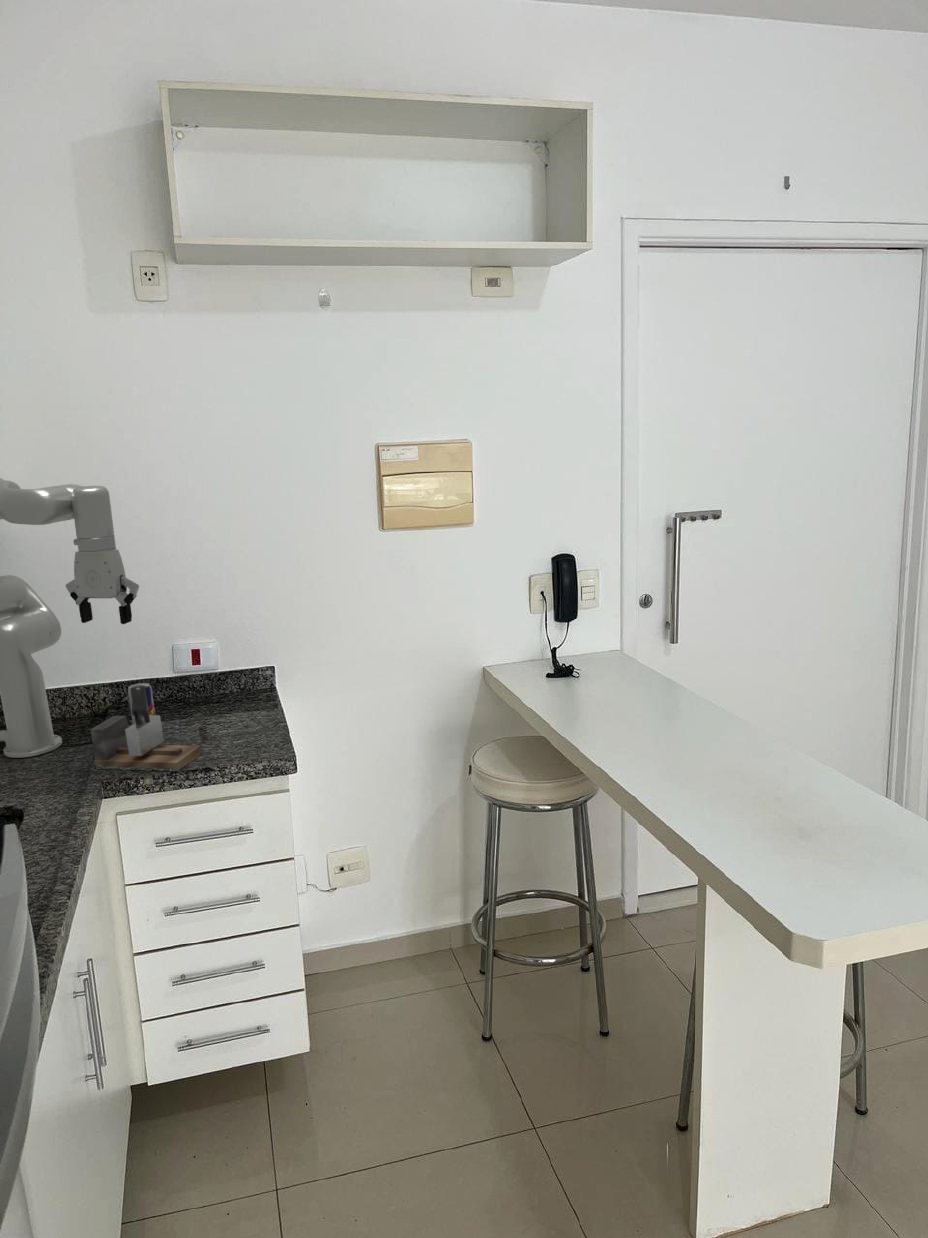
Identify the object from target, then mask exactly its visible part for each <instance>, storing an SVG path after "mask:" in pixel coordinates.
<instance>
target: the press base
mask: <svg viewBox="0 0 928 1238" xmlns="http://www.w3.org/2000/svg"><path fill="white" fill-rule="evenodd" d="M127 719H128V718H127V715H113V716H111V717H110V718H108V719H106V720H105V721H104V720H103V722H100V724H98V725H96V726H94V727H92V728H91V729H90V736H91V741H92V747H93V754H94V759H95V760H94V761H93V762H94V766H95V765H102V766H116V767H118V766H120V767H146V768H156V769H172V770H178V769H180V768H181V767H184V766H185V765H186V766H187V764H188V763H189V764H190V763H192V762H193V761H194V760H196V759H197V758H198V757H199V756H201V755H202V749H201V745H187V744H186V745H185V744H184V745H183V744H182V745H180V744H176V745H175V744H158V745H157V746H156V747H154V748H153V749H151V750H150V751H148V752H147V753H145V754H144V755H142V756H129V750H128V744H127V738H126V732H125V729H127V728H128V727H129V725H128V720H127ZM189 764H188V765H189ZM186 766H185V767H186ZM185 767H184V768H185Z"/></svg>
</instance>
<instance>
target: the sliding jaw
mask: <svg viewBox="0 0 928 1238" xmlns="http://www.w3.org/2000/svg"><path fill="white" fill-rule="evenodd" d="M130 690H131V697H132V703H133V709H134V716H135V722H136V723H135V724H133V723H132V724H131V725H130V726H128V728H127V729H125V732H126V738H127V744H128V750H129V756H142V755H144V754H145V753H147V752H148V751H150V750H151V749H153V748H154V747H156V746H157V745H161V744H162V742H164V740H165V739H164V733H163V732H164V731H163V726H162V719H161V715H158V714H157V715H156V714H155V715H149V711H148V704H147V698H146V691H145V686H144V685H137V686H133V687H131V688H130Z"/></svg>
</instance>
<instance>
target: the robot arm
mask: <svg viewBox="0 0 928 1238" xmlns="http://www.w3.org/2000/svg"><path fill="white" fill-rule="evenodd" d="M1 520H3V521H5V522H7V523H10V524H14V525H15V524H16V525H31V526H44V525H51V524H55V523H59V522H65V521H71V520H74V527H75V528H74V529H75V534H76V538H75V539H74V540H73V545H74V546H77V550H78V551H75V552H74V560H73V561H74V562H73V574H74V575H73V576H74V577H73V578H74V579H72V580H70V581H69V582H68V583H66V584H65V588H66V590H67V592H68V593H69V596H70V597H71V598H72V599H73V600H74V602H75V605H77V606H78V608H79V616H80V623H82V624H86V623H88V622H90V621H92V620H93V617H94V616H93V609H92V604H91V602H90V601H89V600H90V599H115V600H116V601H117V602H118V603H119V607H118V613H119V621H120V624H121V625H126V624H128V623H131V622H132V621H133V620H132V619H133V618H132V617H133V616H132V605H131V604H133V603H134V600H135V599H136V598H137V597H138V596H137V595H138V591H139V589H140V585H139V584H138V583H136V582H135V581H133V580H130V579H129V578H127V577H126V572H125V568H124V563H123V558H122V556H121V554H120V551H119V549H117V546H116V545H117V544H116V539H115V538H116V537H115V531H114V521H113V514H112V505H111V498H110V492H109V490H108V488H107V487H105V486H102V485H86V486H84V485H78V484H73V483H72V484H70V483H69V484H61V485H53V486H47V487H41V488H29V489H28V488H21V486H20V485H18V483H16V482H14V481H11V480H5V479H4V478H2V477H0V521H1ZM127 590H129V592H128V591H127ZM127 592H128V593H127ZM60 623H61V622H60V621H59V619H58V617H57V615H56V614H55V613H54V612H53V611H52V609H51V608H50V607H49V606H48V605H47V603H46V602H45V601H44V600H43V599H42V598H41V597H40V596H39V594H38V593H37V592H36V591H35V590H34V589H33V588H32V586H30V585H29V583H27V581H25V579H22V578H20V577H18V576H15V575H11V574H10V575H9V574H6V575H1V576H0V700H1V705H2V711H3V716H4V720H5V725H6V726H5V727H6V730H0V742H5V746H4V748H3V755H4V756H5V757H7V758H12V759H13V758H14V759H16V758H17V759H20V758H29V757H35V756H41V755H44V754H46V753H49V752H52V751H54V750H56V749H58V748H59V747H60V746H61V745H62V744H63V739H62V737H61V736H59V735H57V734H55V733H54V730H53V723H52V718H51V717H52V716H51V712H50V707H49V701H48V697H47V696H48V695H47V691H46V685H45V684H46V683H45V680H44V674H43V672H42V669H41V667H40V665H39V664H38V663H37V662H36V660H35V659H34V657H33V656H32V654H34V653H37V652H40V651H42V650H44V649H45V650H46V649H47V648H50V647H52V646H54V645H56V644H57V642H59V640H60V638H61V636H62V627H61V624H60Z"/></svg>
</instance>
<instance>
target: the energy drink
mask: <svg viewBox="0 0 928 1238" xmlns="http://www.w3.org/2000/svg"><path fill="white" fill-rule="evenodd" d="M137 685H144V686H145V691H146V698H147V704H148V711H149V715H156V709H155V701H154V696H153V690H152V685H151V684H150V683H148V682H138V683H135V684H132V685H129V686H128V687H127V688H128V689H127V695H128V699H129V700H128V703H129V707H130V714H131V715H130V716H131V719H132V725H133V724H135V723H136V722H135V716H134V709H133V703H132V697H131V690H130V688H131V687H133V686H137Z"/></svg>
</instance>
